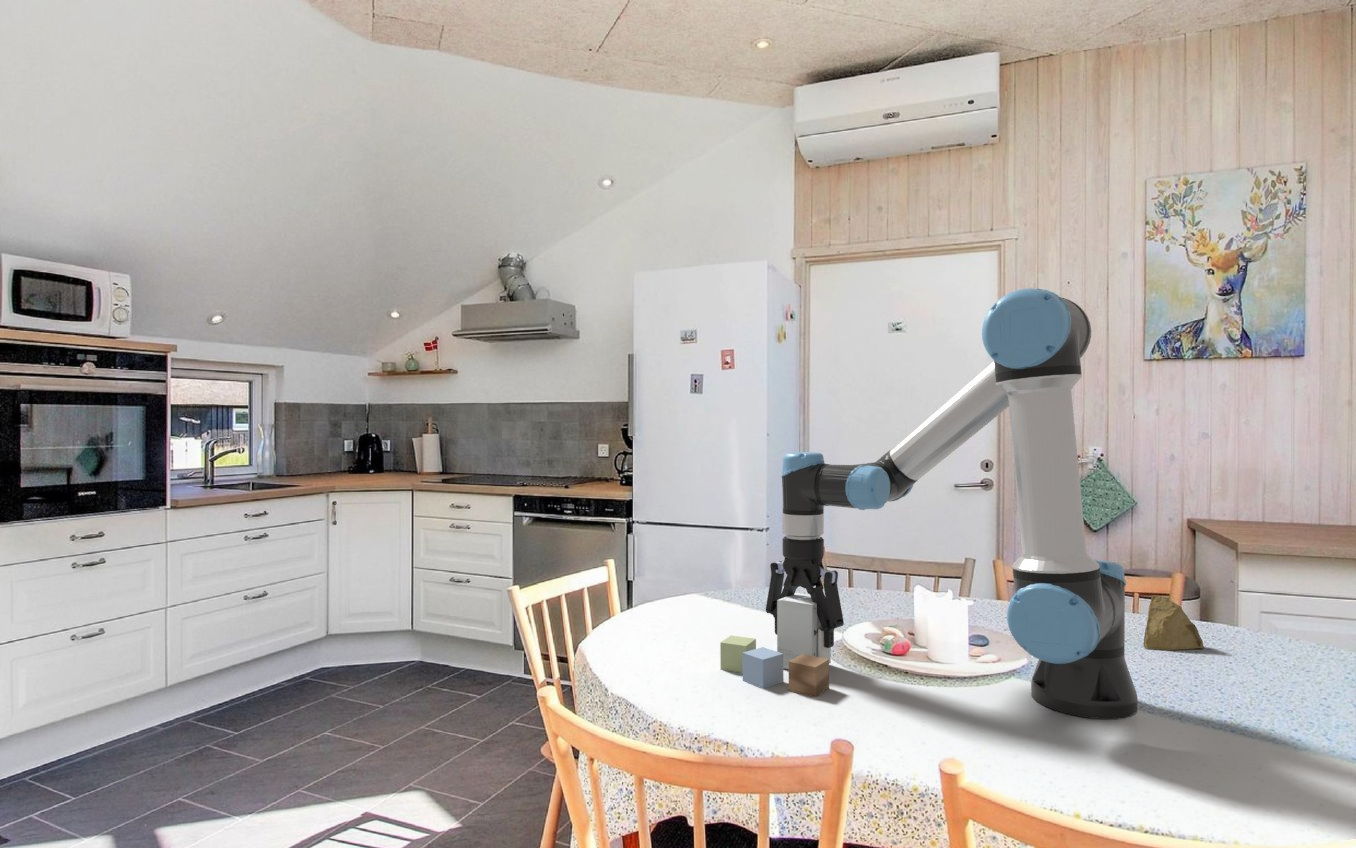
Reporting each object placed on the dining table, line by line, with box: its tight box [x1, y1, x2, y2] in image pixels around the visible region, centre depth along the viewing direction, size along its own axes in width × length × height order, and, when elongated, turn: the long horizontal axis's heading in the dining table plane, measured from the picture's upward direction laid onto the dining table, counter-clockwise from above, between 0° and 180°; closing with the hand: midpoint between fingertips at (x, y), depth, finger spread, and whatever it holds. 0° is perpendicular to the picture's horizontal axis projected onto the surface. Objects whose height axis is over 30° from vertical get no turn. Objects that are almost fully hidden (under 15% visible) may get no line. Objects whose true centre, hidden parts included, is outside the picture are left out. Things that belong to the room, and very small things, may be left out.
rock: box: [1143, 594, 1205, 651], centre depth 151 cm, size 11×9×10 cm
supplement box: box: [776, 592, 826, 671], centre depth 142 cm, size 7×7×13 cm
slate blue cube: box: [742, 646, 784, 689], centre depth 134 cm, size 5×5×5 cm
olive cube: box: [719, 635, 757, 674], centre depth 142 cm, size 5×5×5 cm
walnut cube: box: [788, 654, 830, 698], centre depth 130 cm, size 5×5×5 cm
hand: (803, 658), depth 142 cm, fingers open, 9 cm apart
